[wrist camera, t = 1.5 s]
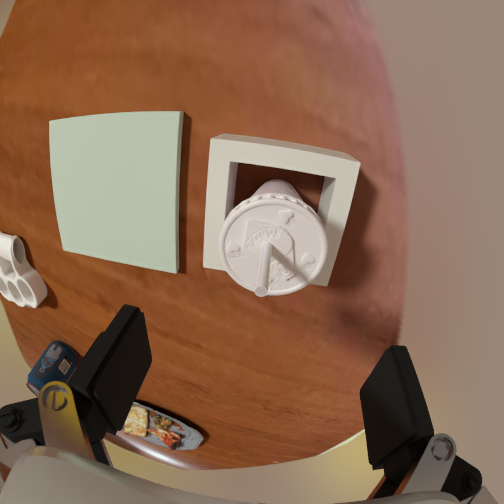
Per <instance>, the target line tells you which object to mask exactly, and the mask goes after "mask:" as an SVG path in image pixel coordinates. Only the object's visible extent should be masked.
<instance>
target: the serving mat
mask: <svg viewBox="0 0 504 504" xmlns="http://www.w3.org/2000/svg"><path fill="white" fill-rule="evenodd" d="M183 115H184V112H182V111H148V112H123V113H108V114H97V115H87V116H79V117H71V118H64V119H58V120H52V121H49V135H50V160H51V173H52V184H53V193H54V200H55V207H56V214H57V220H58V226H59V231H60V236H61V241H62V246H63V250H65V251H70V252H74V253H79V254H83V255H88V256H92V257H97V258H101V259H106V260H111V261H115V262H120V263H125V264H130V265H135V266H140V267H145V268H150V269H155V270H160V271H166V272H171V273H177V272H178V270H179V185H180V160H181V143H182V128H183Z"/></svg>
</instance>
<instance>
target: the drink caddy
mask: <svg viewBox="0 0 504 504" xmlns="http://www.w3.org/2000/svg"><path fill="white" fill-rule="evenodd" d="M238 162H240V163H248V164H255V165H262V166H269V167H276V168H282V169H288V170H294V171H300V172H305V173H311V174H316V175H321V176H325V178H324V183H323V188H322V192H321V197H320V202H319V206H318V211H317V215H318V216H319V217H320V219H321V221H322V223H323V226H324V228H325V230H326V238H327V246H328V250H327V258H326V261H325V264H324V266H323V268H322V270H321V272H320V273H319V275H318V276H317V277H316V278H315V279H314V280H313V281H312V282H311V283H310V284H314V285H321V286H327V285H328V282H329V279H330V276H331V272H332V269H333V266H334V263H335V260H336V256H337V253H338V249H339V246H340V243H341V239H342V236H343V232H344V228H345V225H346V221H347V217H348V213H349V210H350V206H351V202H352V198H353V194H354V190H355V185H356V181H357V177H358V172H359V168H360V162H359V161H357V160H356V159H354V158H353V157H352V156H350V155H349V154H347V153H343V152H339V151H335V150H330V149H325V148H320V147H315V146H310V145H304V144H299V143H293V142H287V141H281V140H274V139H267V138H260V137H252V136H243V135H234V134H221V135H219V136H216V137H213V138H211V141H210V153H209V165H208V179H207V194H206V211H205V231H204V257H203V267H206V268H212V269H218V270H224V271H226V270H225V268H224V266H223V264H222V262H221V259H220V255H219V237H220V233H221V230H222V228H223V224H224V221H225V220H226V218H227V217H228V215H229V214H230V212H231V211H232V210H233V209H234V200H235V190H236V180H237V171H238Z"/></svg>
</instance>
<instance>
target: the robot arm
mask: <svg viewBox="0 0 504 504" xmlns="http://www.w3.org/2000/svg"><path fill="white" fill-rule="evenodd" d="M151 362H152V355H151V350H150V345H149V340H148V335H147V329H146V323H145V317H144V313H143V312H141V311H140V308H138V307H134V306H131V305H127V304H125V305H123V306H122V308H121V309H120V311H119V312H118V313H117V315H116V316H115V318H114V319H113V320H112V322H111V323H110V325H109V326H108V328H107V329H106V331H105V332H102V333H100V334H99V336H98V337H97V338H96V340H95V341H94V343H93V344H92V346H91V347H90V349H89V350H88V352H87V353H86V355H85V356H84V358H83V359H82V361H81V362H80V364H79V365H78V367H77V368H76V370H75V372H74V373H73V375H72V376H71V378H70V379H69V381H68V383H67V384H65V383H63V382H59V381H52V382H50V383H47V384H46V385H44V386H43V387H42V389H41V390H40V392H39V395H38V397H37V398H34V399H30V400H26V401H22V402H17V403H13V404H9V405H6V406H3V407H2V408H1V409H0V504H263V503H251V502H242V501H235V500H227V499H221V498H215V497H210V496H204V495H200V494H195V493H191V492H186V491H182V490H178V489H174V488H171V487H167V486H164V485H161V484H157V483H154V482H151V481H148V480H145V479H142V478H139V477H136V476H133V475H131V474H128V473H125V472H122V471H120V470H117V469H115V468H114V467H113V465H112V462H111V460H110V457H109V455H108V452H107V449H106V447H105V444H104V442H103V438H104V436H105V434H106V432H108V433H110V434H113V435H116V432H117V430H118V431H120V430H121V429H122V428H123V426H124V423H125V421H126V419H127V416H128V414H129V412H130V410H131V407H132V405H133V403H134V400H135V398H136V396H137V394H138V392H139V389H140V387H141V385H142V383H143V381H144V378H145V376H146V374H147V372H148V370H149V368H150V365H151ZM360 400H361V406H362V413H363V419H364V426H365V434H366V441H367V450H368V459H369V463H370V464H371V465H372V468H373V470H377V469H384V476H383V477H382V479H381V480H380V482H379V483H378V485H377V486H376V487H375V489H374V490H373V492H372V493H371V494H370V496H369V497H368V498H367V500H364V501H356V502H347V503H337V504H498V503H497V502H496V500H495V499H494V498H493V496H492V495H491V494H490V492H489V491H488V490H487V488H486V487H485V486H482V487H481V485H482V476H481V473H480V471H479V470H478V469H477V468H475V467H473V466H472V465H470V464H469V463H467V462H466V461H464V460H463V459H461V458H460V457H458V456H457V455H456V445H455V442H454V440H453V439H452V438H451V437H450V436H449V435H447V434H444V433H440V434H436V435H434V429H433V425H432V422H431V418H430V415H429V411H428V408H427V405H426V401H425V398H424V395H423V392H422V389H421V386H420V383H419V380H418V377H417V374H416V372H415V369H414V366H413V363H412V360H411V358H410V355H409V352H408V350H407V348H406V347H405V346H397V345H392V346H390V348H389V349H386V350H385V352H384V353H383V355H382V357H381V358H380V360H379V362H378V363H377V365H376V366H375V368H374V369H373V371H372V372H371V374H370V375H369V377H368V378H367V380H366V381H365V383H364V384H363V386H362V387H361V389H360Z"/></svg>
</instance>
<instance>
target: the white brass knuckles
mask: <svg viewBox="0 0 504 504" xmlns="http://www.w3.org/2000/svg"><path fill="white" fill-rule="evenodd" d="M0 292H1V293H2V295H3V296H4V297H5V298H6V299H8V300H9V301H13V302H15V303H16V304H17V305H18V306H22V307H25V306H28V307H29V308H31V306H32V307H33V308H36V307H37V306H38V305H39V304H40V303H41V302H42V301H43V300H44V299H45V298H46V296H47V288H46V285H45V283H44V281H43V279H42V277H41V276H40V275H39V273H38V272H37V271H36V270H35V269H34V268H32V267H31V266H30V264H29V263H28V261H27V259H26V255H25V249H24V245H23V242H22V241H21V239H20V238H19V237H17V236H16V235H14V236H12V235H8V234H5V233H2V232H1V231H0Z"/></svg>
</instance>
